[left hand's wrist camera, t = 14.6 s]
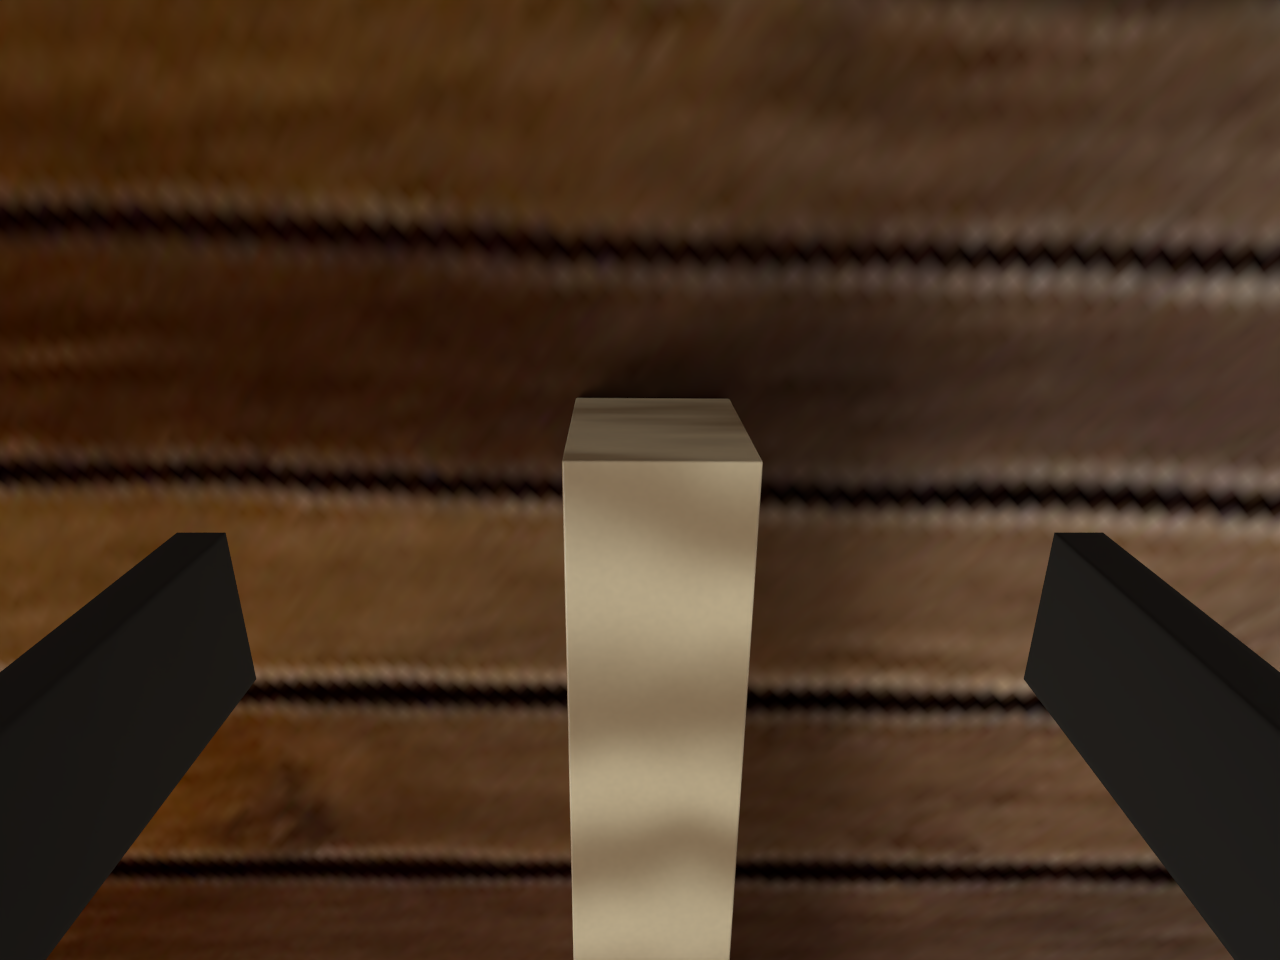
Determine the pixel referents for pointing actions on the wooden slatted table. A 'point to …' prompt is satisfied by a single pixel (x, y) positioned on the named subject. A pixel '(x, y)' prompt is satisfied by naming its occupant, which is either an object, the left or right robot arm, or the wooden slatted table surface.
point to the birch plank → (657, 670)
